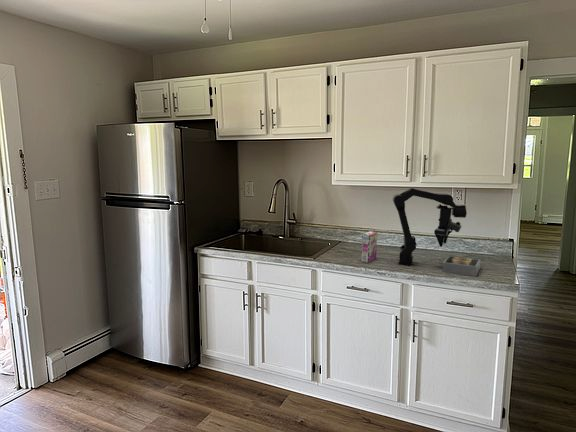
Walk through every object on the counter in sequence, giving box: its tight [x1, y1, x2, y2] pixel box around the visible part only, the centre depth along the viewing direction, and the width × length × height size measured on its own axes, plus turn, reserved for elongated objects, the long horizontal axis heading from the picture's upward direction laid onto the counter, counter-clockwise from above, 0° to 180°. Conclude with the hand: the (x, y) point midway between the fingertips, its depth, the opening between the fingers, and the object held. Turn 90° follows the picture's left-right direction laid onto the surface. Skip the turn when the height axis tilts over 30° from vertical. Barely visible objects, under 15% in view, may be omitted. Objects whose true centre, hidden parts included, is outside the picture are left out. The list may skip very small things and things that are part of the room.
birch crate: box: [452, 256, 473, 266], centre depth 215 cm, size 9×6×5 cm
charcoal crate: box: [442, 255, 481, 277], centre depth 215 cm, size 16×16×5 cm
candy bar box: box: [360, 230, 378, 264], centre depth 234 cm, size 11×5×16 cm, turn 145°
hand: (442, 244), depth 224 cm, fingers open, 9 cm apart
